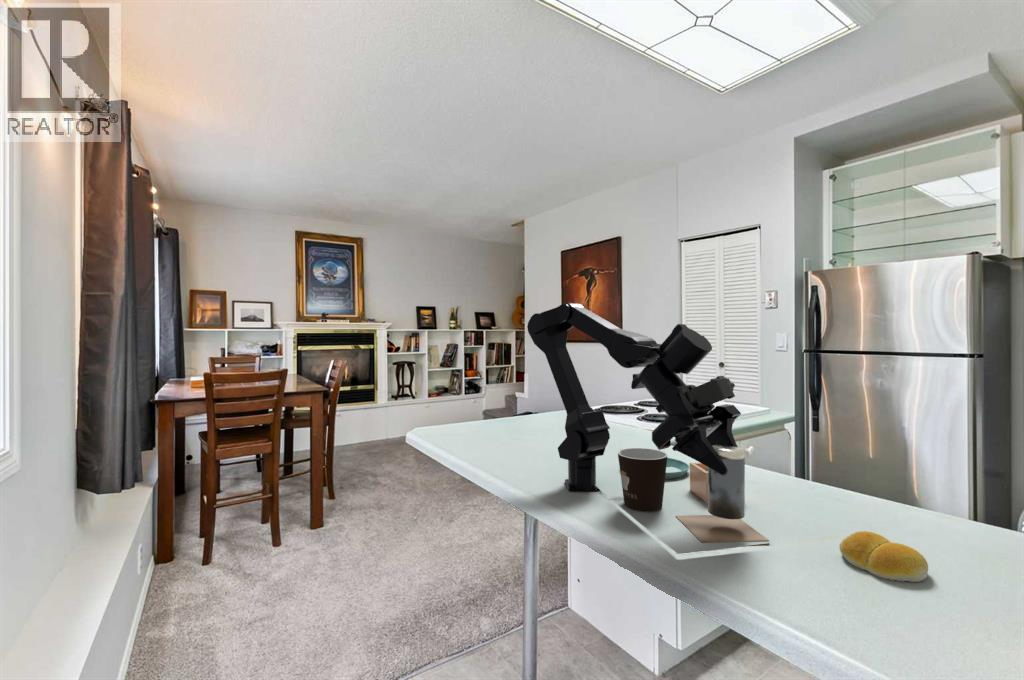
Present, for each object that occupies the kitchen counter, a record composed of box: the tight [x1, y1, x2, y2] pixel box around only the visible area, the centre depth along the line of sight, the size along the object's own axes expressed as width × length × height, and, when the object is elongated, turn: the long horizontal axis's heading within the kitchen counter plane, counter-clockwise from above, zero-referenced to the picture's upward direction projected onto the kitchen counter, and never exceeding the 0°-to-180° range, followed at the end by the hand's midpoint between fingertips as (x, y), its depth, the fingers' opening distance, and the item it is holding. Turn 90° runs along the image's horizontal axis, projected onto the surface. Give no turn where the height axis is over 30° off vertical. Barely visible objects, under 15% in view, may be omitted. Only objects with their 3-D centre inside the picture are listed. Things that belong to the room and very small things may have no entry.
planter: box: [689, 462, 708, 503], centre depth 87 cm, size 7×7×6 cm
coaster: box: [675, 514, 770, 547], centre depth 72 cm, size 10×10×1 cm
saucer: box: [665, 457, 690, 480], centre depth 104 cm, size 15×15×3 cm
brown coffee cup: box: [617, 447, 668, 513], centre depth 84 cm, size 12×9×10 cm
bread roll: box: [839, 530, 929, 583], centre depth 61 cm, size 8×9×4 cm
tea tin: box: [707, 445, 746, 520], centre depth 72 cm, size 5×5×10 cm
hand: (734, 469), depth 71 cm, fingers closed on tea tin, 5 cm apart
